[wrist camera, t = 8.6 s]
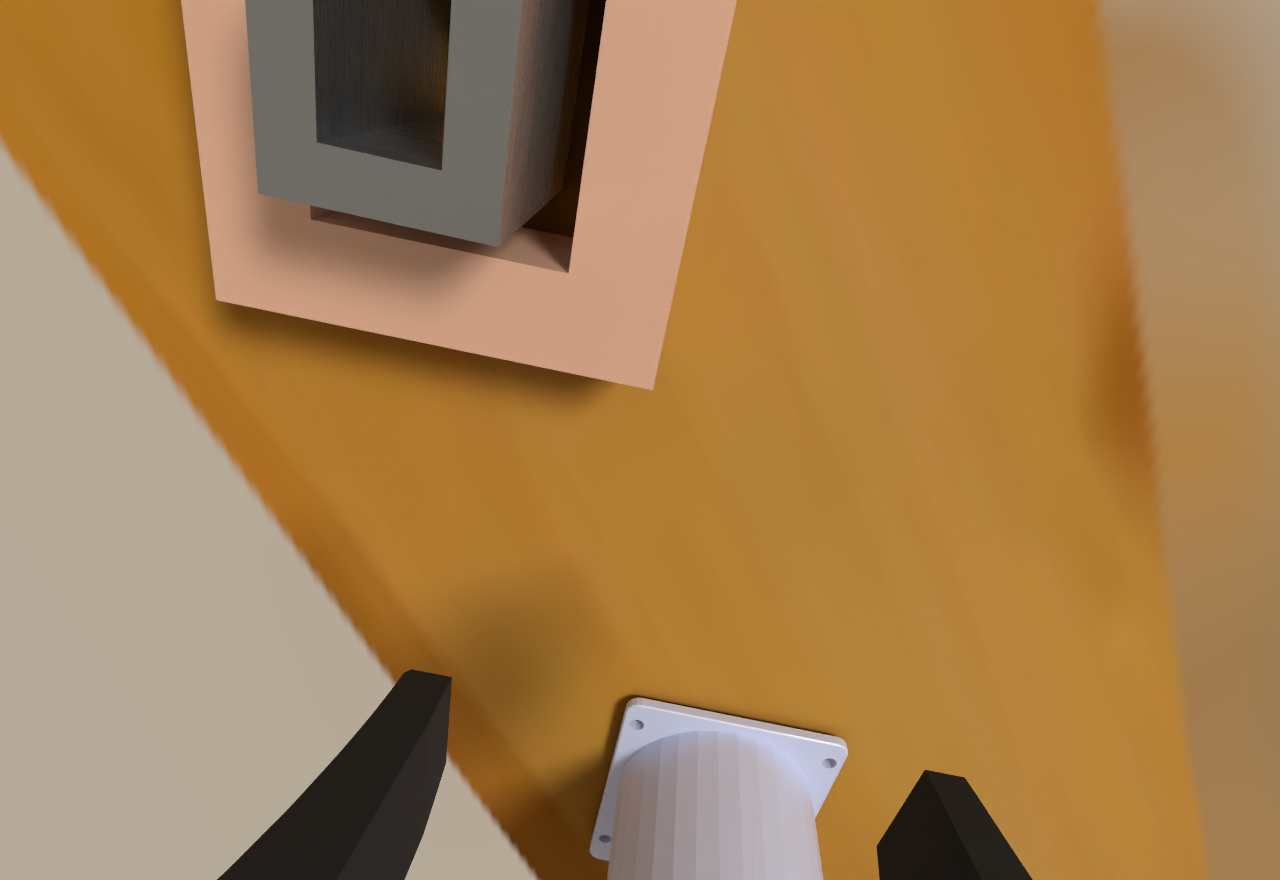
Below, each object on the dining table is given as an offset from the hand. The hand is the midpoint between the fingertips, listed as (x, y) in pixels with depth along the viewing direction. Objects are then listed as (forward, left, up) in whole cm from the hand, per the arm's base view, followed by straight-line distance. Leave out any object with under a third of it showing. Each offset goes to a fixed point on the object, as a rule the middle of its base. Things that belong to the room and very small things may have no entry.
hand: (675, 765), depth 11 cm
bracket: (+8, +6, -10) cm, 15 cm away
